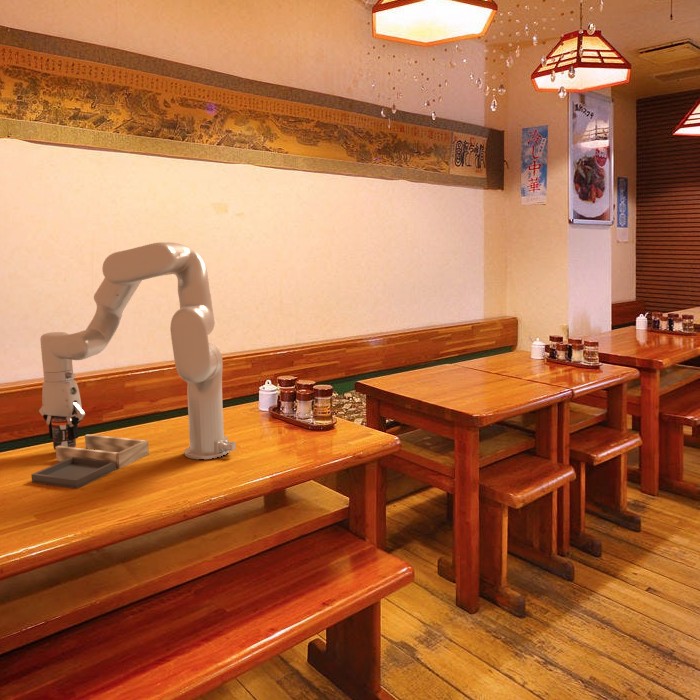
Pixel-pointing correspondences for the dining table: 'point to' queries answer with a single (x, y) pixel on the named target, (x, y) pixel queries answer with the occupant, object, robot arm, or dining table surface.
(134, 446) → the bay
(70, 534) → the dining table surface
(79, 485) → the tray
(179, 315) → the robot arm
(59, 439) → the supplement bottle
